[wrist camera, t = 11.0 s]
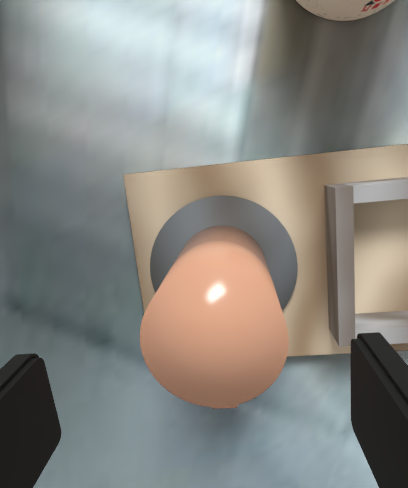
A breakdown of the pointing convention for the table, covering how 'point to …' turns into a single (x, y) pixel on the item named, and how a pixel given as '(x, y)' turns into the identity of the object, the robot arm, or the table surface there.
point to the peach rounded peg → (216, 322)
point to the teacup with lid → (344, 8)
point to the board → (294, 236)
